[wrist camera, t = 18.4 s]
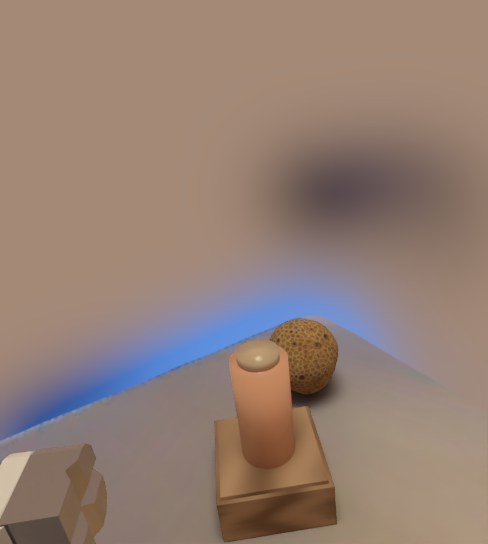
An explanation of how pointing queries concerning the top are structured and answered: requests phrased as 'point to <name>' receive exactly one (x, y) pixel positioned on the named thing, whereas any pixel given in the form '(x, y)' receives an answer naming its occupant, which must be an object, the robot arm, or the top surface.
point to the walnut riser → (272, 484)
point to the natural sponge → (307, 353)
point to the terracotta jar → (263, 402)
